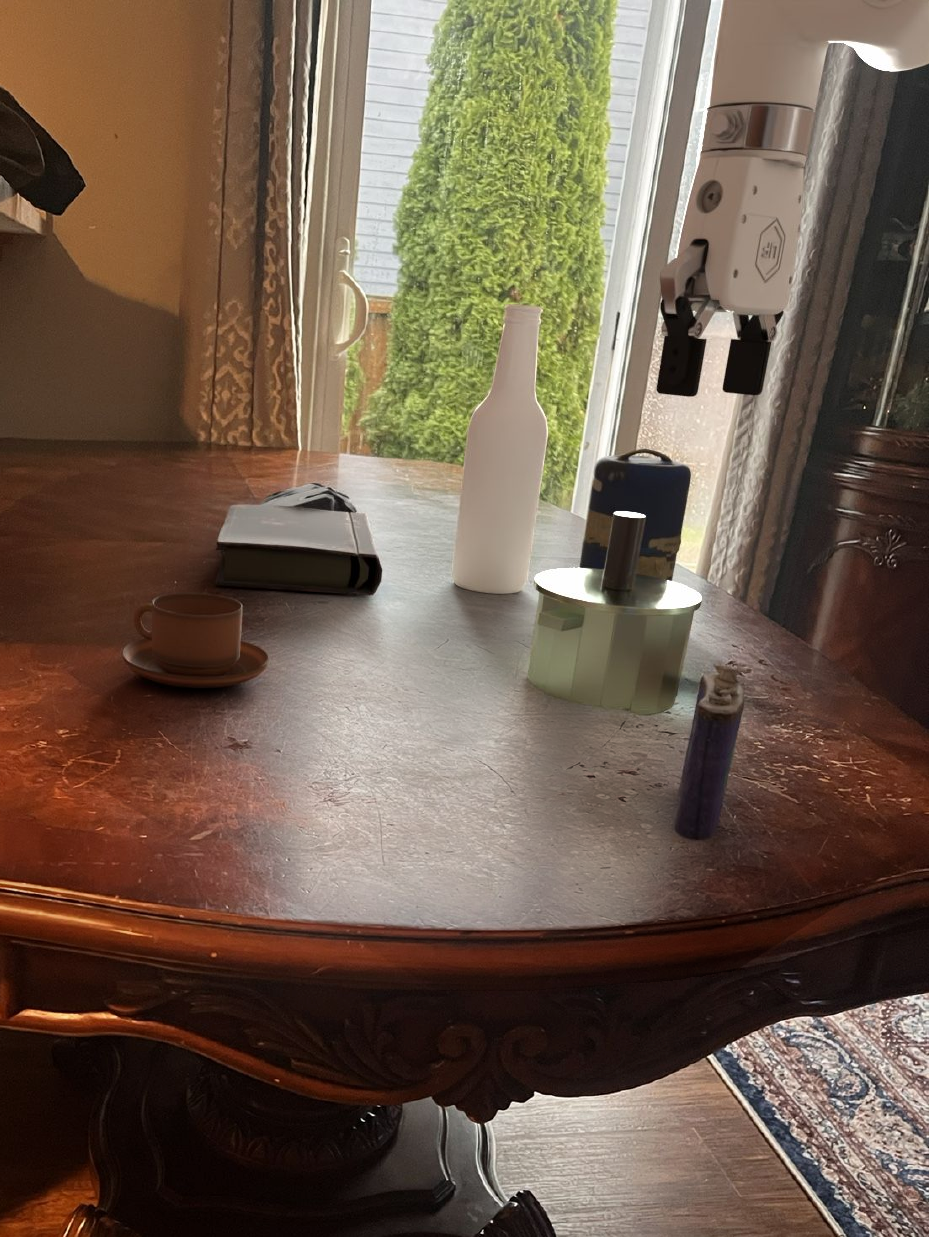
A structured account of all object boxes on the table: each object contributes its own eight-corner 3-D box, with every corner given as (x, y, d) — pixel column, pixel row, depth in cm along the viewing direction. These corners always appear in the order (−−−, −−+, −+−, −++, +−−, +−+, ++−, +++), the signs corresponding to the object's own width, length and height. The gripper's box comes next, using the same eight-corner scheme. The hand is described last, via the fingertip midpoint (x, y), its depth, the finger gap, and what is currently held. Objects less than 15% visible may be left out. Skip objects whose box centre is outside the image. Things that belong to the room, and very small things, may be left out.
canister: (673, 643, 118) (709, 459, 111) (580, 636, 118) (610, 451, 110) (648, 618, 127) (680, 446, 119) (561, 612, 126) (588, 439, 119)
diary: (368, 551, 149) (371, 511, 147) (380, 598, 126) (384, 552, 124) (222, 541, 148) (223, 500, 146) (207, 587, 125) (208, 540, 123)
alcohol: (507, 576, 141) (544, 306, 129) (538, 595, 133) (580, 309, 121) (439, 576, 138) (469, 301, 126) (466, 594, 131) (501, 303, 119)
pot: (718, 693, 103) (739, 598, 100) (600, 732, 92) (619, 626, 88) (599, 656, 111) (615, 568, 108) (477, 687, 100) (490, 589, 96)
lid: (730, 610, 98) (749, 523, 95) (638, 632, 89) (656, 537, 86) (594, 575, 107) (607, 495, 104) (499, 592, 98) (510, 505, 95)
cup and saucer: (103, 690, 92) (102, 614, 90) (145, 649, 103) (145, 580, 101) (252, 707, 91) (255, 630, 89) (278, 663, 102) (282, 594, 100)
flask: (675, 791, 81) (707, 642, 77) (719, 799, 80) (754, 649, 76) (668, 844, 73) (703, 681, 69) (717, 853, 72) (755, 689, 68)
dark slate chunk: (361, 509, 177) (363, 477, 175) (363, 537, 157) (366, 501, 155) (260, 501, 177) (261, 469, 175) (249, 528, 157) (251, 492, 155)
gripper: (741, 122, 76) (694, 400, 82) (857, 154, 87) (807, 397, 94) (641, 128, 81) (605, 391, 87) (763, 158, 92) (722, 389, 99)
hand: (709, 394), depth 90 cm, fingers open, 9 cm apart
